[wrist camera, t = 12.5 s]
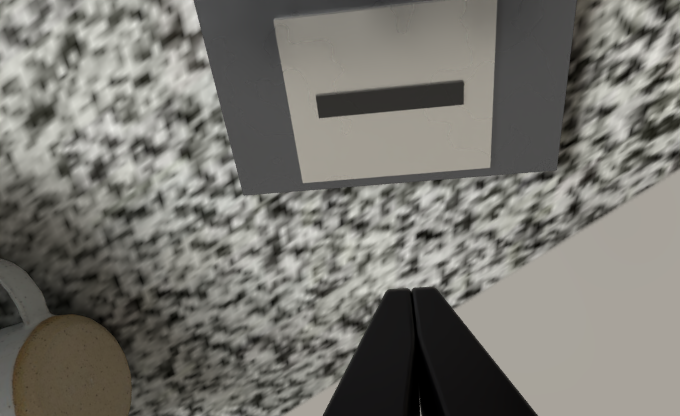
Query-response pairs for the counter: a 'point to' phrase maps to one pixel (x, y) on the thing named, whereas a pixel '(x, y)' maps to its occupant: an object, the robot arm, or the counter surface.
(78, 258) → the counter surface
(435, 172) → the panel
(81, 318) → the ceramic mug
